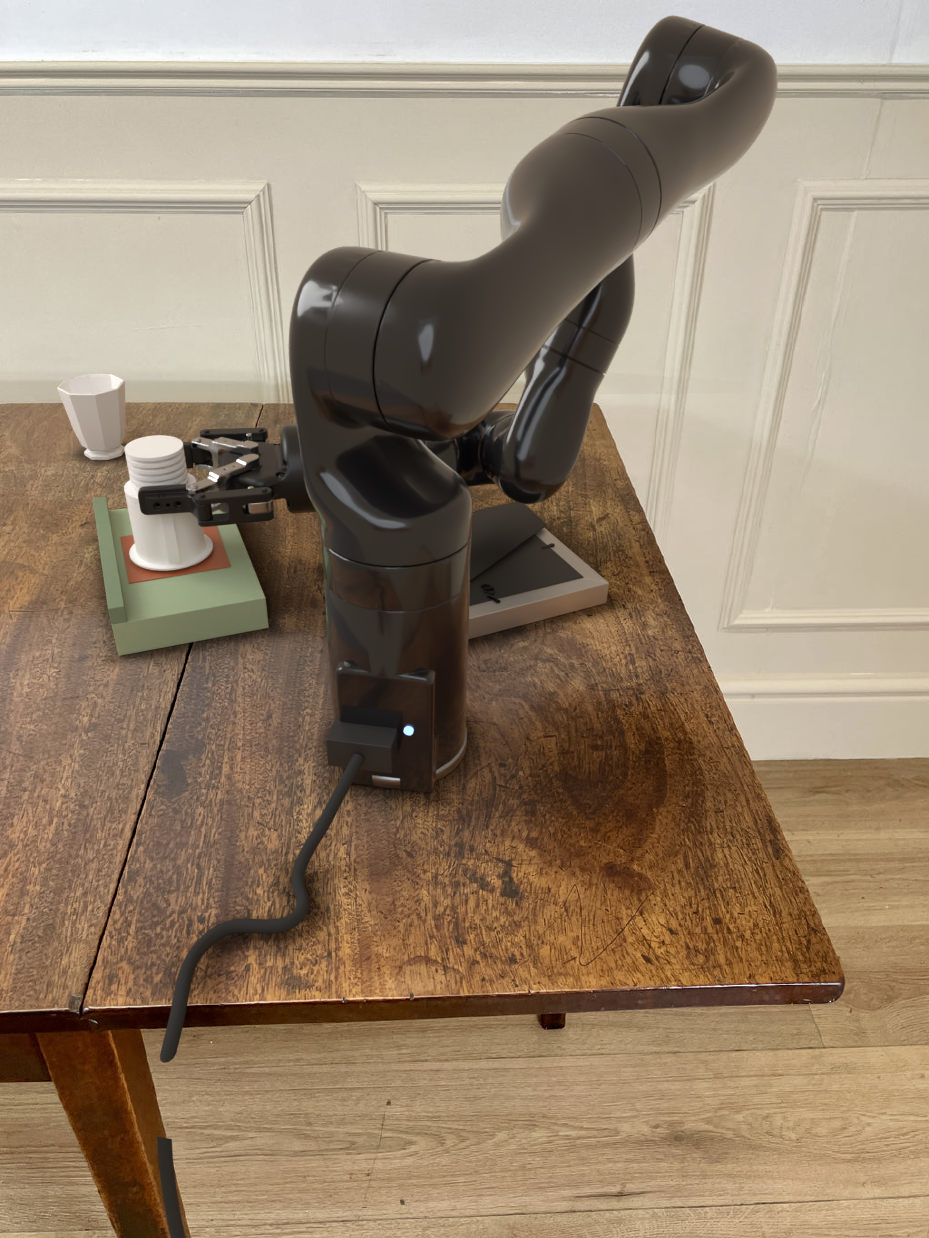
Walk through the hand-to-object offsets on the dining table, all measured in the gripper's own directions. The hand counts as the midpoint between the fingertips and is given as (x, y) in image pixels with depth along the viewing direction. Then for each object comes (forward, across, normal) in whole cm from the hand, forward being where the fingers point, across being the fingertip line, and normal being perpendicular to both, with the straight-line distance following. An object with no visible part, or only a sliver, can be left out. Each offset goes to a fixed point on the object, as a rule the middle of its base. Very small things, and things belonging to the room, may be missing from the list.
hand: (143, 478), depth 78 cm
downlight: (-1, 0, +7) cm, 7 cm away
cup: (+8, -31, +10) cm, 34 cm away
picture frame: (-26, +5, +10) cm, 29 cm away
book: (-2, 0, +10) cm, 10 cm away
